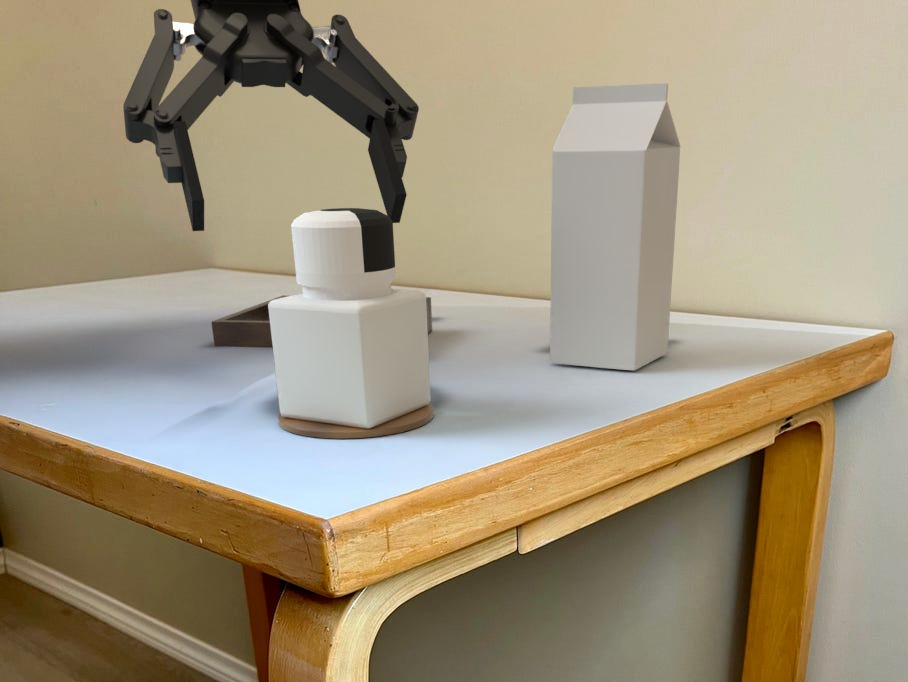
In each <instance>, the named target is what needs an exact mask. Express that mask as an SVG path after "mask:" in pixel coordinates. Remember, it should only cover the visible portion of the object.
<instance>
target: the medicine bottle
mask: <svg viewBox="0 0 908 682" xmlns="http://www.w3.org/2000/svg"><path fill="white" fill-rule="evenodd" d="M290 228H291V238H292V239H291V241H292V248H293V249H292V250H293V258H294V270H295V278H296V279H295V280H296V284H297V285H299V286H301V287H302V293H298V294H292V295H287V296H288V297H283V298H279V299H275V298H274V299H275V300H272V299H271V300H272V301H270V302H269V304H268V311H269V320H270V329H271V337H272V346H273V348H272V355H273V364H274V371H275V380H276V381H275V382H276V390H277V399H278V406H279V414H280V413H281V415H282V416H283V417H285V418H293V419H300V420H307V421H314V422H322V423H329V424H336V425H343V426H350V427H358V428H365V429H370V428H373V427H375V426H378V425H380V424H382V423H385V422H387V421H390V420H392V419H395V418H397V417H400V416H402V415H404V414H407V413H409V412H412V411H414V410H417V409H419V408H422V407H424V406H426V405H428V404H431V400H432V399H431V380H430V378H431V377H430V358H429V357H430V355H429V333H428V331H427V308H426V297H427V295H426V293H424V291H421V290H416V289H415V290H414V289H404V288H403V289H402V288H392V282H394V281H396V279H397V273H396V255H395V253H396V252H395V239H394V238H395V237H394V236H395V235H394V223H393V222H392V220H391V219H390V218H389V216H387V214H385V213H384V212H381V211H379V210H377V209H372V208H371V209H370V208H361V207H342V208H341V207H338V208H325V209H324V208H323V209H318V210H310V211H305V212H304V213H302V214H300V215H298V216H297V217H296V218H294V219H293V221H292V222H291V224H290Z"/></svg>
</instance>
